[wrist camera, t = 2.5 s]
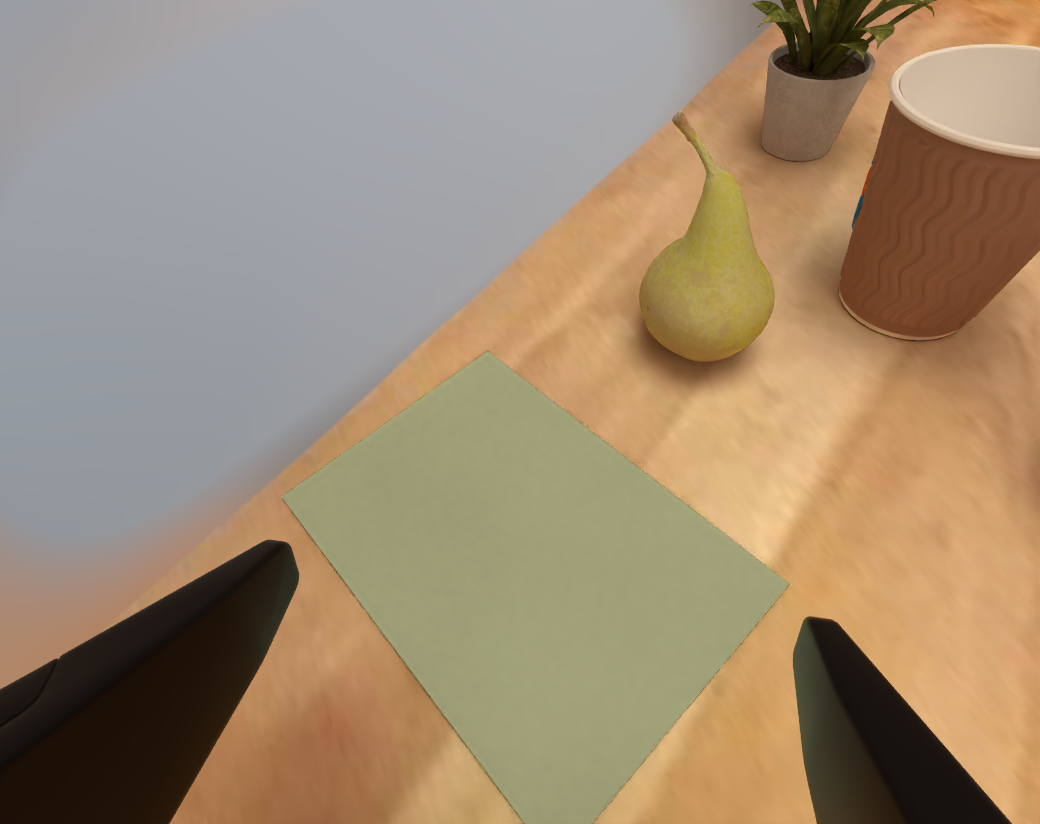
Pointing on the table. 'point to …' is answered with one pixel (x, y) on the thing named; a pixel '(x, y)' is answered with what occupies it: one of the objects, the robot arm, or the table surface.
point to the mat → (533, 584)
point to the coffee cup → (948, 192)
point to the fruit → (709, 274)
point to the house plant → (819, 71)
